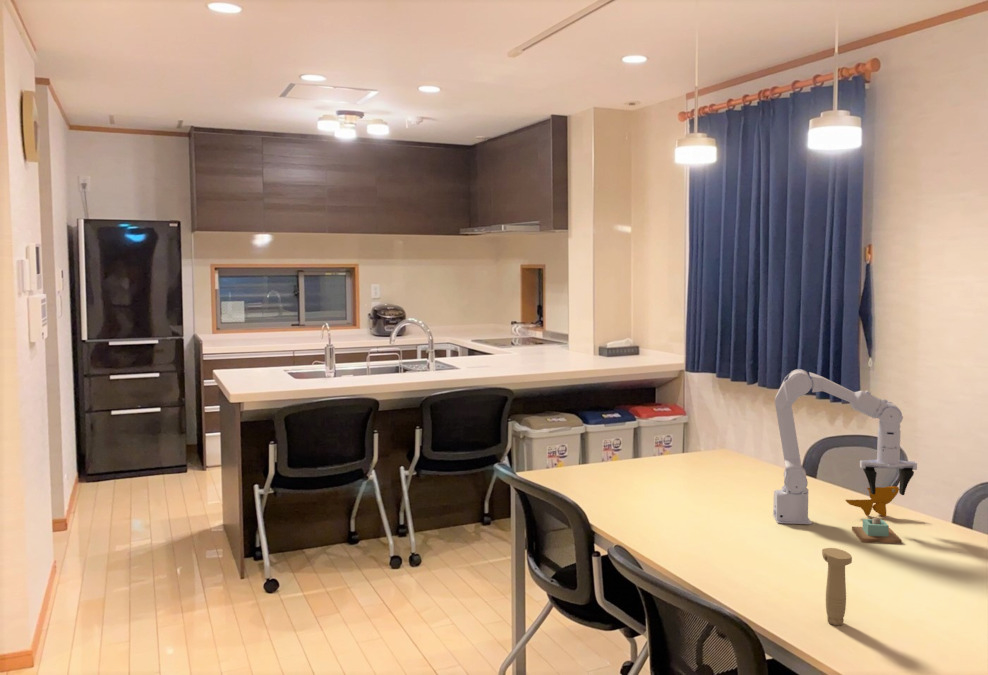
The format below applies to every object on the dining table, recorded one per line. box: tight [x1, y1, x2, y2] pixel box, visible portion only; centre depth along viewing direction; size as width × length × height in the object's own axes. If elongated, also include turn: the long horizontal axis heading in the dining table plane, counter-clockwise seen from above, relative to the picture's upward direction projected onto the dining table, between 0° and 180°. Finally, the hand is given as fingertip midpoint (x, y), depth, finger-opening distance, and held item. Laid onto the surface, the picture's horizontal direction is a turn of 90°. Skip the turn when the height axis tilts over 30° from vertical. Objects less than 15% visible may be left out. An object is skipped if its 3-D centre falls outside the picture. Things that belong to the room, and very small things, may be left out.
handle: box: [821, 547, 853, 626], centre depth 167 cm, size 5×6×15 cm
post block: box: [851, 517, 903, 544], centre depth 220 cm, size 10×10×5 cm
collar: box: [862, 518, 890, 536], centre depth 220 cm, size 5×5×3 cm
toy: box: [844, 485, 899, 518], centre depth 238 cm, size 3×16×10 cm, turn 89°
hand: (887, 493), depth 226 cm, fingers open, 7 cm apart
